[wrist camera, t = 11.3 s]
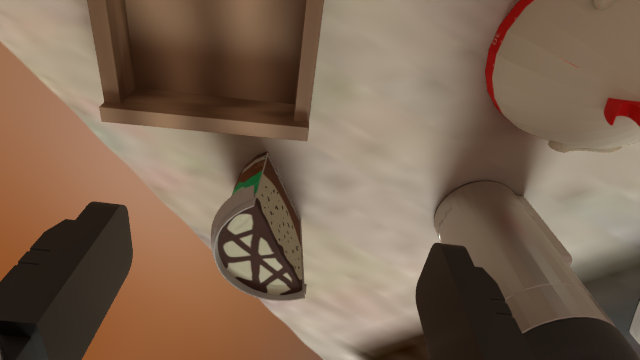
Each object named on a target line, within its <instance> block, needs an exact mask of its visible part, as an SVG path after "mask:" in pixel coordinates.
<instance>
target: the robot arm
mask: <svg viewBox="0 0 640 360" xmlns="http://www.w3.org/2000/svg"><path fill="white" fill-rule="evenodd" d="M434 226H435V229H436V232H437V234H438V237H439V240H440V241H441V243H435V244H434V245H433V246H432V248H431V250H430V252H429V255H428V257H427V260H426V262H425V265H424V268H423V270H422V273H421V275H420V278H419V280H418V283H417V287H416V305H417V309H418V313H419V317H420V321H421V325H422V329H423V332H424V336H425V340H426V344H427V348H428V352H429V356H430V360H639V358H638V356H637V354H636V353H635V351H634V350H633V348H632V347H631V345H630V344H629V343H628V342H627V340H626V339H625V338H624V336H623V335H622V334H621V332H620V331H619V330H618V329H617V328H616V326H615V325H614V324H613V323H612V321H611V320H610V319H609V317H608V316H607V315H606V313H605V312H604V311H603V309H602V308H601V307H600V306H599V304H598V303H597V302H596V300H595V299H594V298H593V296H592V295H591V294H590V293H589V291H588V290H587V289H586V287H585V286H584V285H583V284H582V282H581V281H580V280H579V278H578V277H577V276H576V274H575V273H574V272H573V270H572V269H571V268H570V264H571V262H572V257H571V255H570V254H569V252H568V251H567V250H566V249H565V247H564V246H563V245H562V244H561V242H560V241H559V240H558V239H557V237H556V236H555V235H554V234H553V232H552V231H551V230H550V229H549V227H548V226H547V225H546V223H545V222H544V221H543V220H542V218H541V217H540V216H539V215H538V213H537V212H536V211H535V210H534V208H533V207H532V206H531V205H530V203H529V202H528V201H527V200H526V198H525V197H524V196H518V195H515V194H514V193H513V192H512V191H511V190H510V189H509V188H508V187H506V186H505V185H503V184H500V183H497V182H491V181H481V182H474V183H470V184H467V185H465V186H462V187H460V188H458V189H456V190H455V191H453V192H452V193H450V194H449V195H448V196H447V197H446V198H445V199H444V200H443V201H442V202H441V204H440V205H439V207H438V209H437V211H436V213H435V218H434ZM132 256H133V249H132V241H131V232H130V225H129V217H128V210H127V208H126V206H124V205H119V204H110V203H101V202H91V203H89V204H88V205H87V206H86V208H85V209H84V210H83V211H82V213H81V214H80V215H79V216H78V217H77V219H76V220H68V219H65V220H64V221H62V222H60V223H59V224H57V225H55V226H54V227H52V228H50V229H49V230H47V231H45V232H44V233H43V234H42V236H41V237H40V238H39V239H38V240H37V241H36V242H35V243H34V244H33V246H32V247H31V248H30V251H29V252H26V254H25V255H24V256H23V257H22V258H21V259H20V260H19V261H18V265H15V266H14V267H13V268H12V269H11V270H10V271H9V273H8V274H7V275H6V276H5V277H4V278H3V279H2V281H1V282H0V360H82V358H83V356H84V354H85V352H86V350H87V349H88V346H89V345H90V343H91V341H92V339H93V338H94V336H95V334H96V332H97V330H98V328H99V327H100V324H101V323H102V321H103V319H104V317H105V315H106V314H107V312H108V310H109V308H110V306H111V304H112V302H113V301H114V299H115V297H116V295H117V293H118V291H119V289H120V288H121V286H122V284H123V282H124V280H125V278H126V277H127V275H128V272H129V270H130V267H131V263H132Z"/></svg>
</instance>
